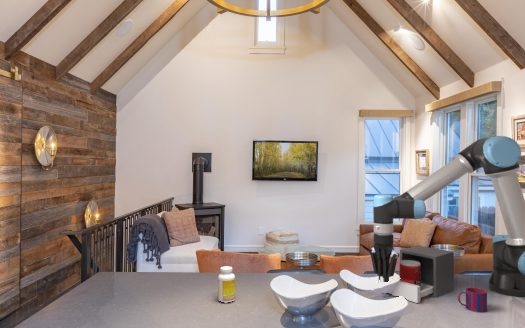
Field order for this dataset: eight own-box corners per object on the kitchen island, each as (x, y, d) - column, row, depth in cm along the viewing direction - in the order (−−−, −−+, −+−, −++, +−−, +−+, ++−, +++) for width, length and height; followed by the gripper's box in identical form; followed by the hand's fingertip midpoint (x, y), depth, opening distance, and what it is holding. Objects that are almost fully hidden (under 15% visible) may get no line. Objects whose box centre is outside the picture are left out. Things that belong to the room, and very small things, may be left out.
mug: (490, 312, 133) (490, 293, 133) (461, 312, 134) (461, 292, 134) (481, 305, 140) (481, 287, 140) (453, 305, 141) (453, 286, 141)
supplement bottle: (238, 300, 146) (238, 267, 146) (226, 305, 142) (225, 271, 142) (227, 296, 151) (227, 264, 151) (214, 301, 146) (214, 267, 146)
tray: (438, 294, 151) (438, 279, 151) (417, 303, 142) (417, 287, 142) (404, 285, 163) (404, 271, 163) (383, 292, 154) (383, 277, 154)
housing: (453, 290, 157) (453, 252, 157) (436, 297, 149) (435, 256, 149) (418, 281, 170) (418, 245, 170) (400, 287, 162) (399, 249, 162)
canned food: (419, 294, 147) (418, 265, 147) (397, 290, 151) (397, 263, 151) (422, 288, 153) (422, 261, 153) (401, 285, 157) (401, 259, 157)
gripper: (363, 232, 152) (364, 290, 152) (392, 237, 142) (392, 299, 141) (375, 230, 157) (376, 287, 156) (403, 234, 146) (404, 295, 146)
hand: (383, 292), depth 149 cm, fingers closed
